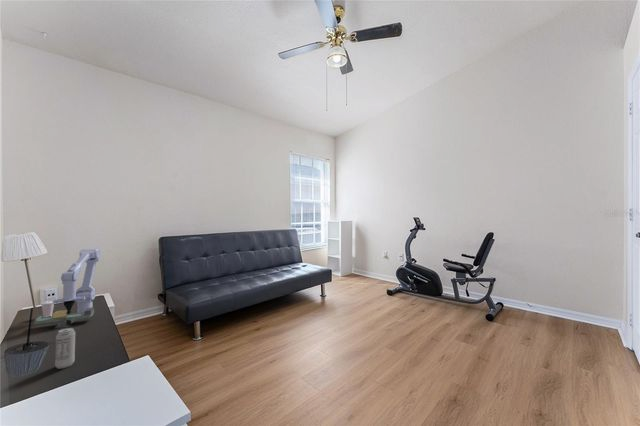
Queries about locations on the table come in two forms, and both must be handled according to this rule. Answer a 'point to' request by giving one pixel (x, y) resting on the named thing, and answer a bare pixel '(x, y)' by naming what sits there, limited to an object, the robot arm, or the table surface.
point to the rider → (60, 314)
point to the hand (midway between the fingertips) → (69, 313)
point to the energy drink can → (65, 348)
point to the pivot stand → (64, 323)
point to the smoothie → (47, 308)
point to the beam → (86, 314)
